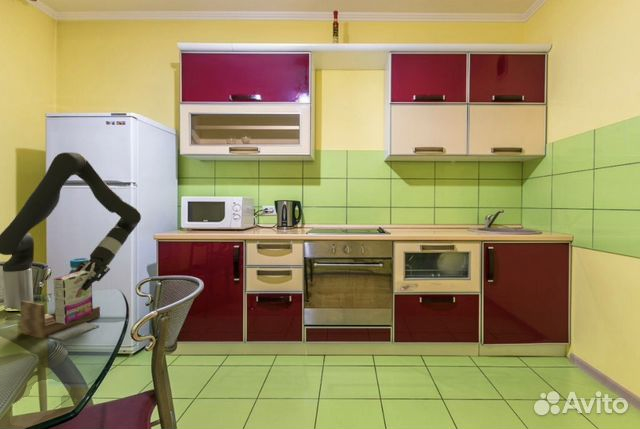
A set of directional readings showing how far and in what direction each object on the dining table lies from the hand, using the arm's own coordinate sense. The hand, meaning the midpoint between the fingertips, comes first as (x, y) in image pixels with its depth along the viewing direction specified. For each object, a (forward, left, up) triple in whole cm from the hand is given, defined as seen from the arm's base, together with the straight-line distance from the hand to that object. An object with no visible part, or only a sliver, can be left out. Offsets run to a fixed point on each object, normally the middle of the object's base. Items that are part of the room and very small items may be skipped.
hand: (78, 288), depth 127 cm
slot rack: (-10, +2, -16) cm, 19 cm away
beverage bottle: (-27, +20, -16) cm, 37 cm away
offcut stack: (-10, -6, -16) cm, 20 cm away
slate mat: (0, -2, -16) cm, 16 cm away
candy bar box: (0, -2, -11) cm, 11 cm away
